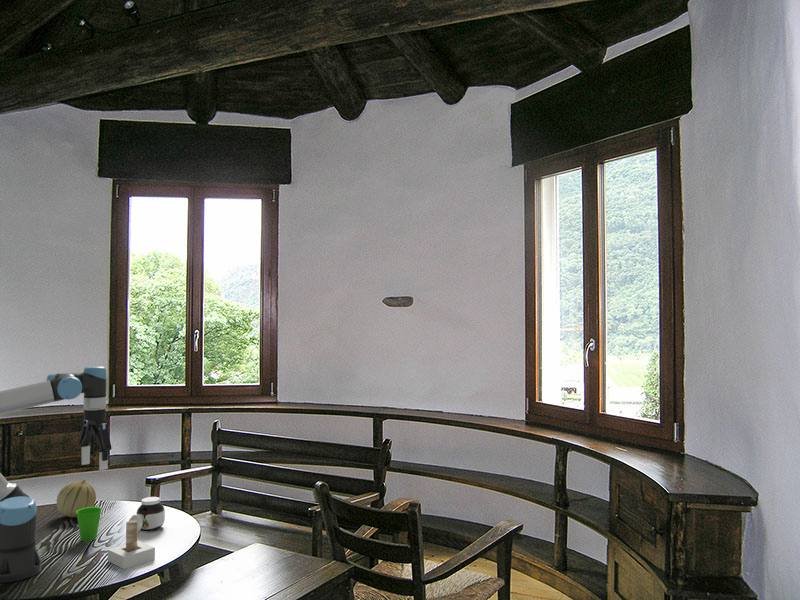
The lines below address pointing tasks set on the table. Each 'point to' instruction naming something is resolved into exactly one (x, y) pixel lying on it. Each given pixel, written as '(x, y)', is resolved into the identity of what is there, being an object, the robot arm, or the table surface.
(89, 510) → the cup
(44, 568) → the table surface
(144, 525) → the spread jar
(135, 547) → the peg
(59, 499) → the cantaloupe
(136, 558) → the socket block
